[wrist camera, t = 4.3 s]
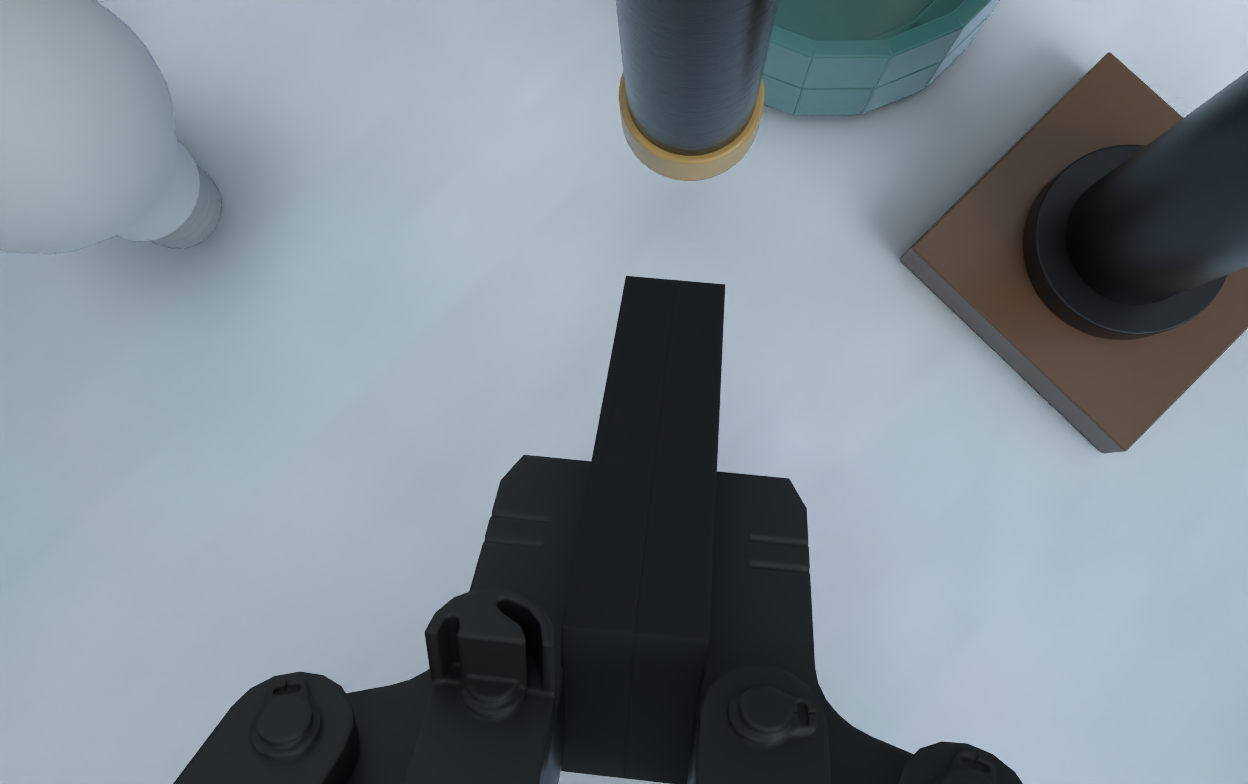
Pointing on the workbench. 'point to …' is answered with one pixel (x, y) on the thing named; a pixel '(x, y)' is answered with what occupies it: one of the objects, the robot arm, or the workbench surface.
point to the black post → (1105, 250)
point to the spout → (693, 81)
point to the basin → (863, 51)
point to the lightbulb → (90, 136)
